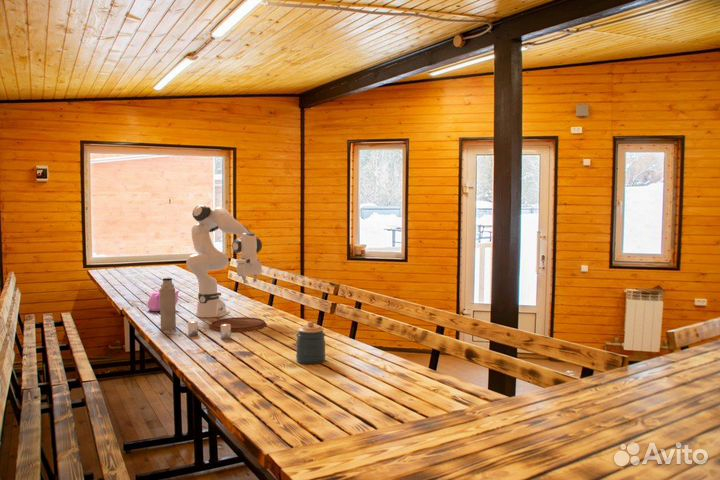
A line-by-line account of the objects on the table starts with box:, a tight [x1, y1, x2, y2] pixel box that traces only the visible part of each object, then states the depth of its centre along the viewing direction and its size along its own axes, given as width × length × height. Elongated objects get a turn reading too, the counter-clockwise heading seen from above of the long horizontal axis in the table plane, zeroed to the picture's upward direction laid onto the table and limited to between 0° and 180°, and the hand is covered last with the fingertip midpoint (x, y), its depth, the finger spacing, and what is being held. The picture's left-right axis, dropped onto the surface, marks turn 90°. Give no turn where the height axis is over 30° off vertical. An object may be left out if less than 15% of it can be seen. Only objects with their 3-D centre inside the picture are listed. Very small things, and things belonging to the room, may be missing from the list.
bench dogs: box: [187, 320, 232, 340], centre depth 292 cm, size 5×25×7 cm, turn 70°
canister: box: [295, 321, 327, 365], centre depth 246 cm, size 13×13×18 cm
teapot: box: [146, 288, 181, 312], centre depth 366 cm, size 22×22×14 cm
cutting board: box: [208, 316, 267, 333], centre depth 318 cm, size 32×32×3 cm
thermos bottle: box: [159, 277, 177, 330], centre depth 312 cm, size 8×8×28 cm
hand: (250, 282), depth 334 cm, fingers open, 8 cm apart
